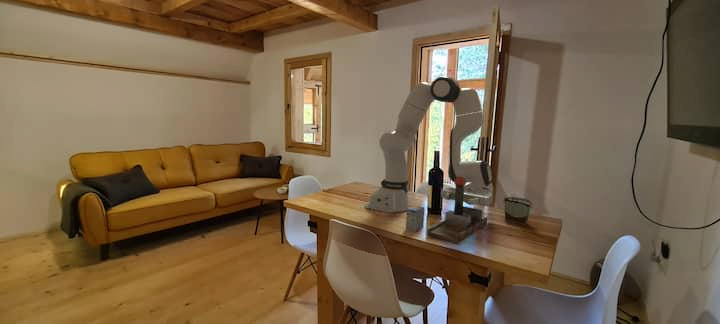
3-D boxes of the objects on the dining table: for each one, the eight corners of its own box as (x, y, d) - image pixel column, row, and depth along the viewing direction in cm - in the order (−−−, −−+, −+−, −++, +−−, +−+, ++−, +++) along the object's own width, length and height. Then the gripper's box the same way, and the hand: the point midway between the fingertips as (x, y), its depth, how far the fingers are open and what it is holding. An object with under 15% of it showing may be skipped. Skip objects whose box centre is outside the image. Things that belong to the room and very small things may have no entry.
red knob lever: (466, 229, 120) (469, 178, 118) (444, 224, 126) (447, 175, 123) (470, 226, 124) (473, 177, 121) (449, 221, 130) (452, 174, 127)
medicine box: (414, 224, 132) (414, 204, 131) (423, 226, 130) (424, 206, 129) (405, 229, 126) (406, 208, 125) (415, 232, 124) (416, 211, 122)
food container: (536, 223, 136) (538, 201, 134) (528, 226, 132) (531, 203, 131) (509, 216, 146) (511, 195, 144) (501, 218, 142) (503, 197, 141)
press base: (456, 244, 111) (458, 226, 110) (427, 236, 119) (427, 218, 118) (487, 224, 134) (488, 208, 133) (460, 218, 141) (461, 203, 140)
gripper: (449, 183, 139) (434, 188, 129) (496, 190, 126) (484, 196, 116) (448, 196, 140) (434, 202, 130) (495, 205, 127) (483, 212, 117)
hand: (458, 199), depth 123 cm, fingers open, 8 cm apart
